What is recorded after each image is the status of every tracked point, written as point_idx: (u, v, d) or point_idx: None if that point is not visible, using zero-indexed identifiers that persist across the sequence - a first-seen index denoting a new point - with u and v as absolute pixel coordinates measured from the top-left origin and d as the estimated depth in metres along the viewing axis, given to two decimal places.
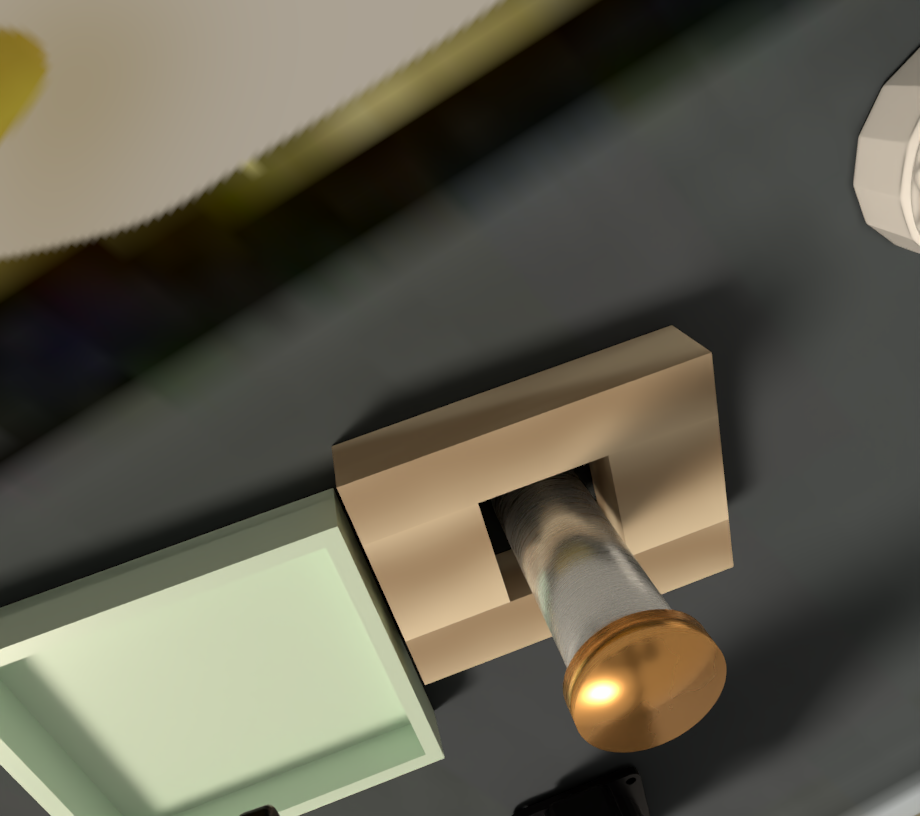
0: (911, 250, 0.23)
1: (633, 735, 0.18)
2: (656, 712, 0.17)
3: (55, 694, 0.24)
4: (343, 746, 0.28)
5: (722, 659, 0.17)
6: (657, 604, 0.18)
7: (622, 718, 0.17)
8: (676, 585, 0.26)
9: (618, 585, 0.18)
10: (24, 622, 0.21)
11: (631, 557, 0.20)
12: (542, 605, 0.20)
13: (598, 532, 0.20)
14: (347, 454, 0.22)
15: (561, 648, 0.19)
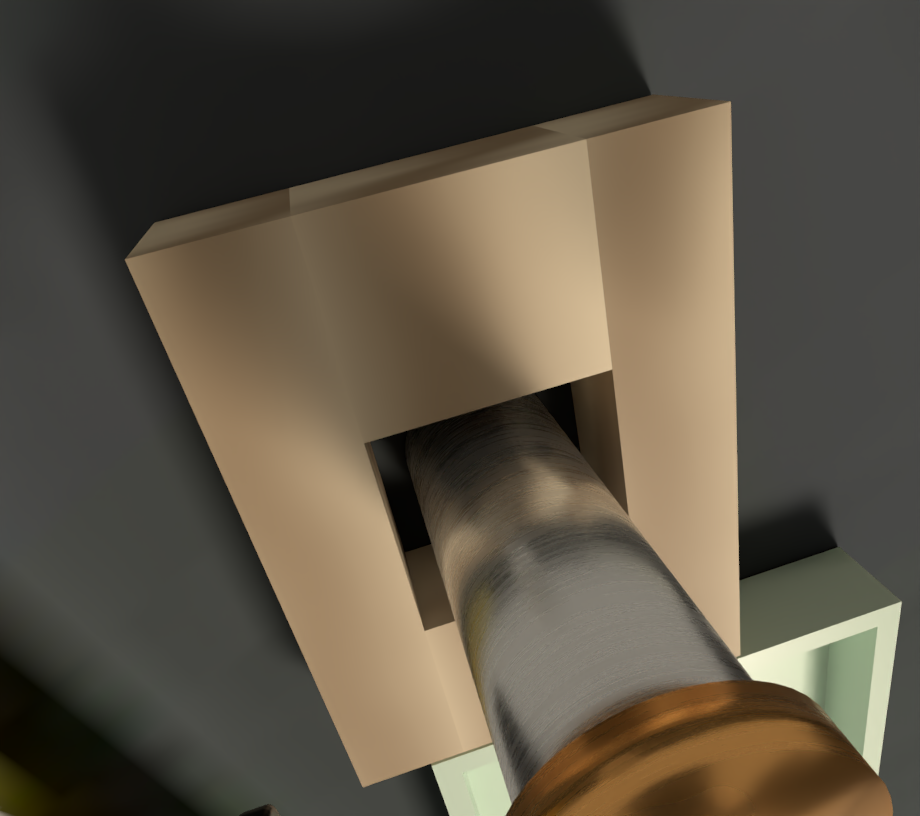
0: None
1: None
2: None
3: None
4: (822, 665, 0.20)
5: (674, 785, 0.06)
6: (534, 733, 0.08)
7: None
8: (729, 243, 0.12)
9: (494, 732, 0.08)
10: None
11: (498, 587, 0.09)
12: None
13: (457, 583, 0.10)
14: None
15: None
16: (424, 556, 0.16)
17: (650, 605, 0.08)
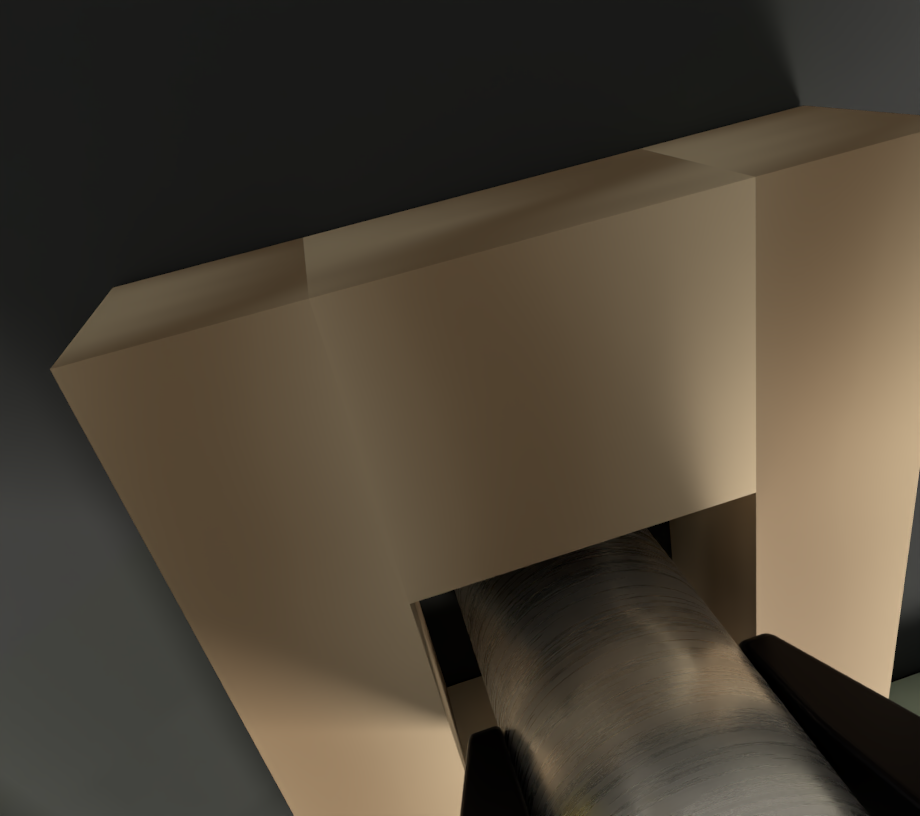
0: None
1: None
2: None
3: None
4: None
5: None
6: None
7: None
8: None
9: None
10: None
11: None
12: None
13: None
14: None
15: None
16: (472, 694, 0.12)
17: None
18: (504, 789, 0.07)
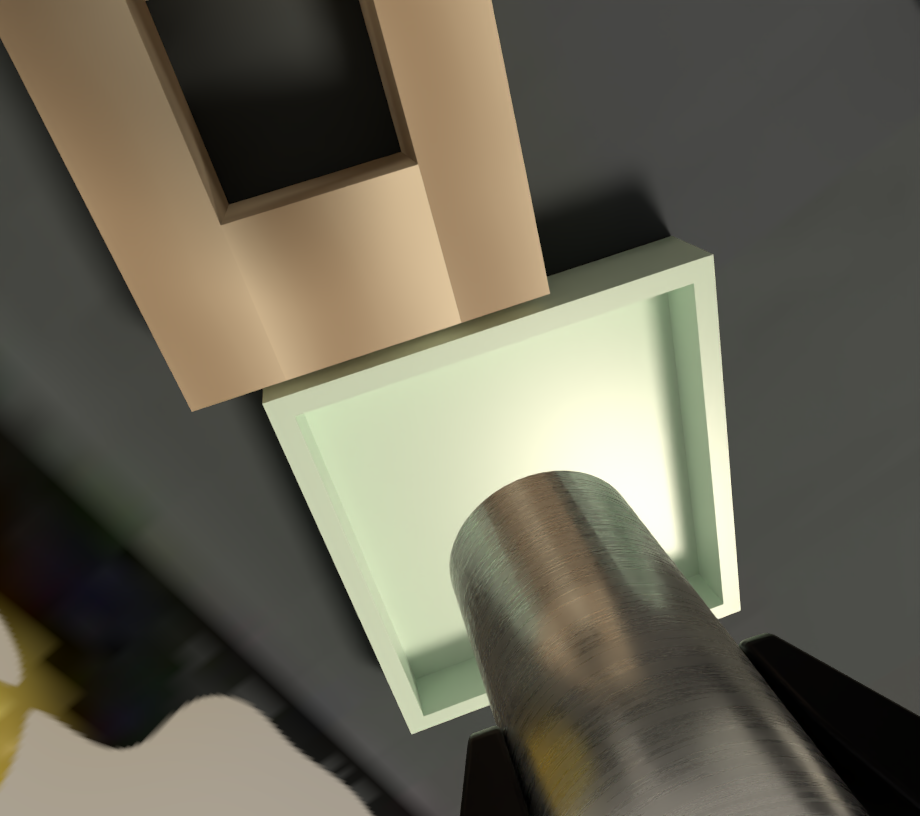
0: None
1: None
2: None
3: None
4: (670, 366, 0.21)
5: None
6: None
7: None
8: None
9: None
10: None
11: None
12: None
13: None
14: None
15: None
16: (243, 201, 0.17)
17: None
18: (504, 789, 0.07)
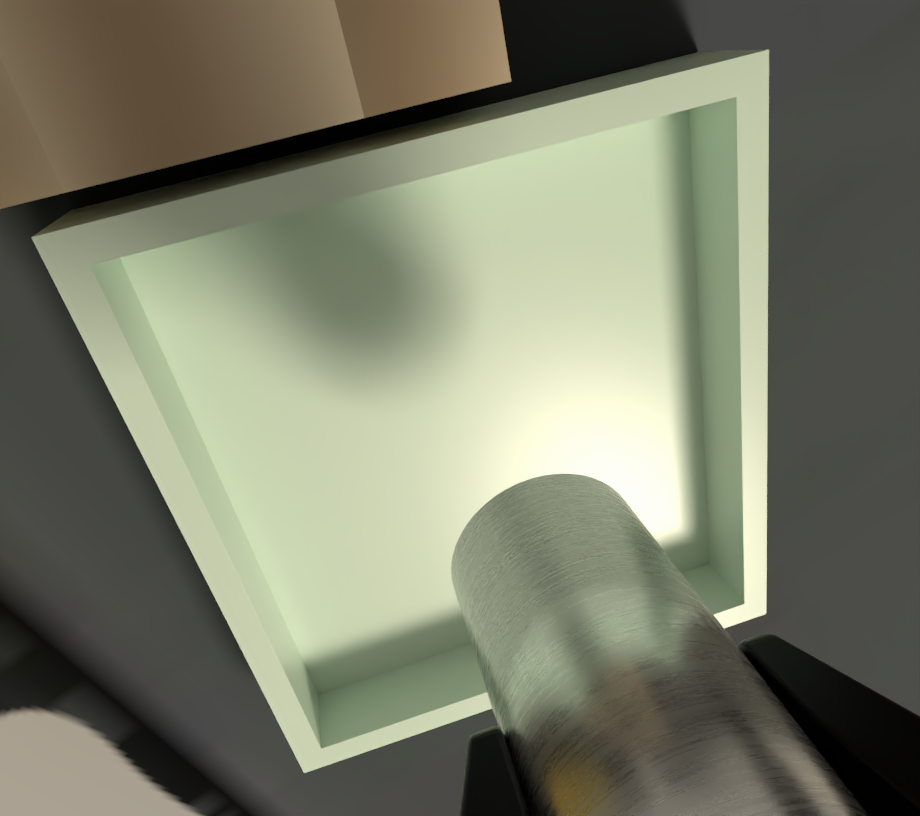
0: None
1: None
2: None
3: (423, 626, 0.17)
4: (688, 255, 0.15)
5: None
6: None
7: None
8: None
9: None
10: None
11: None
12: None
13: None
14: None
15: None
16: None
17: None
18: (504, 789, 0.07)
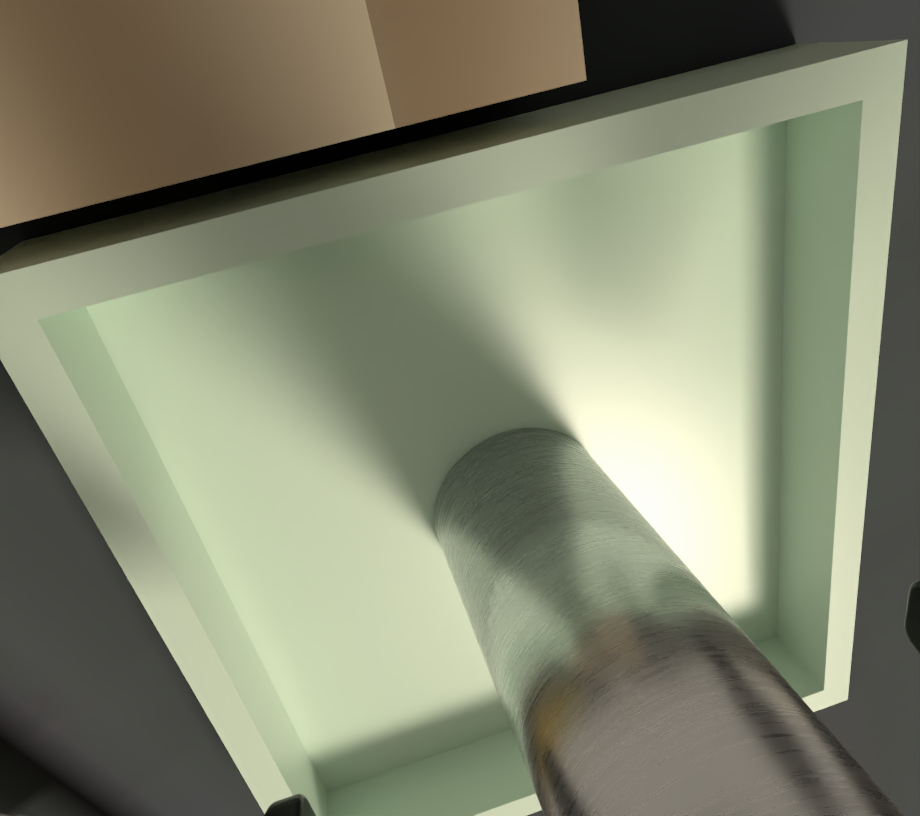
0: None
1: None
2: None
3: (449, 714, 0.15)
4: (774, 289, 0.12)
5: None
6: None
7: None
8: None
9: None
10: None
11: (592, 734, 0.07)
12: None
13: (528, 712, 0.08)
14: None
15: None
16: None
17: (812, 774, 0.06)
18: None
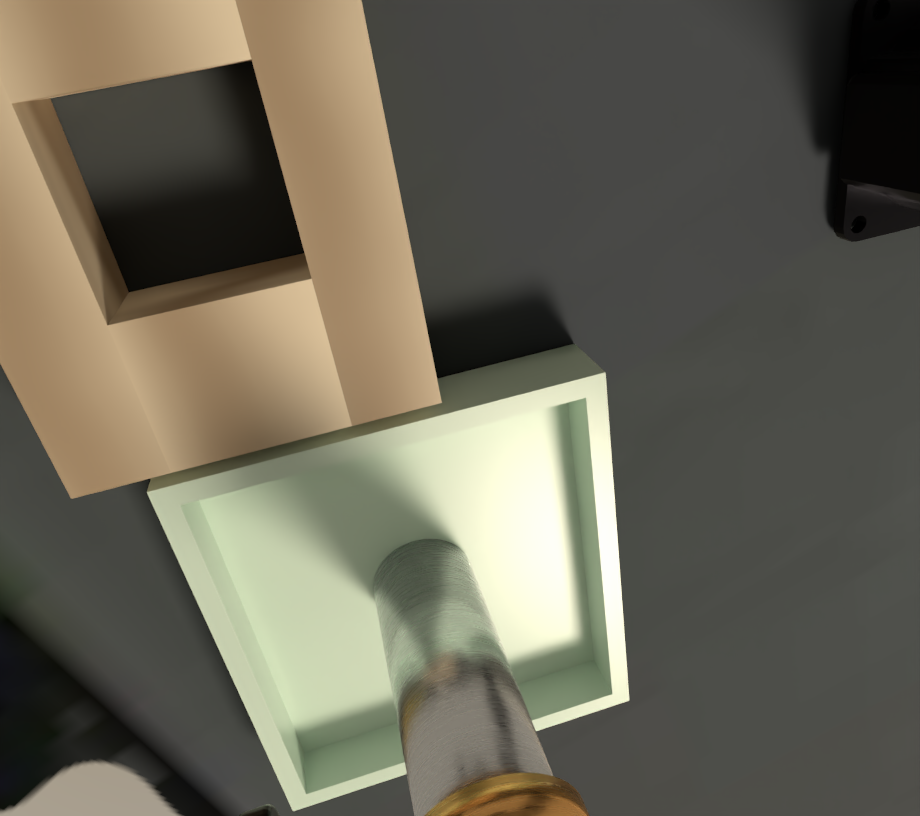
0: None
1: None
2: None
3: (382, 705, 0.24)
4: (568, 465, 0.22)
5: None
6: (427, 794, 0.15)
7: None
8: None
9: (410, 790, 0.16)
10: None
11: (418, 705, 0.16)
12: None
13: (398, 696, 0.17)
14: None
15: None
16: (143, 292, 0.17)
17: (495, 724, 0.16)
18: None
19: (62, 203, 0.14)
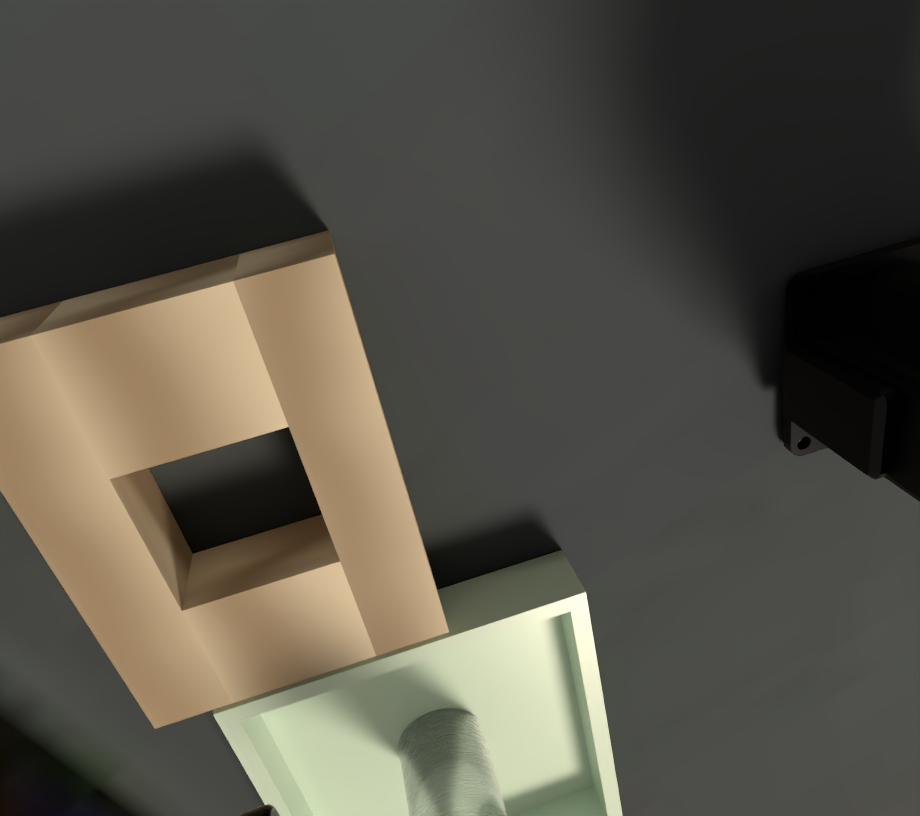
0: None
1: None
2: None
3: None
4: (561, 644, 0.25)
5: None
6: None
7: None
8: (361, 341, 0.17)
9: None
10: None
11: None
12: None
13: None
14: None
15: None
16: (204, 556, 0.21)
17: None
18: None
19: (145, 529, 0.18)
